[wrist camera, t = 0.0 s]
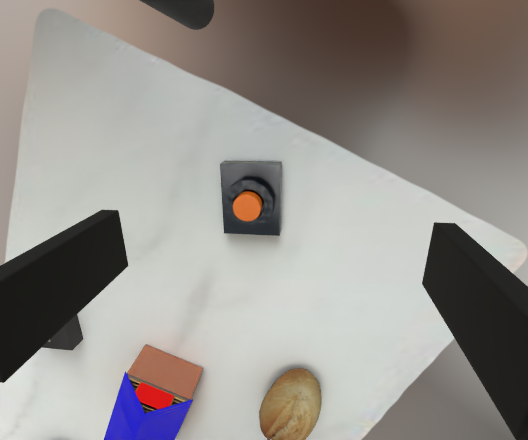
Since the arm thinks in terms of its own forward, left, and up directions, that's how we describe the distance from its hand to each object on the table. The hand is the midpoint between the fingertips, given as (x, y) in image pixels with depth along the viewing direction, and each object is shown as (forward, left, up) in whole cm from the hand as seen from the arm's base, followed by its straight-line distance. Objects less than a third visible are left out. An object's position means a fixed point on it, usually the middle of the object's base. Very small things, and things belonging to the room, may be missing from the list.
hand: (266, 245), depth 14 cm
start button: (+7, -6, -28) cm, 29 cm away
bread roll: (+44, 0, -31) cm, 54 cm away
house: (+47, -25, -31) cm, 62 cm away
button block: (+7, -6, -31) cm, 32 cm away
